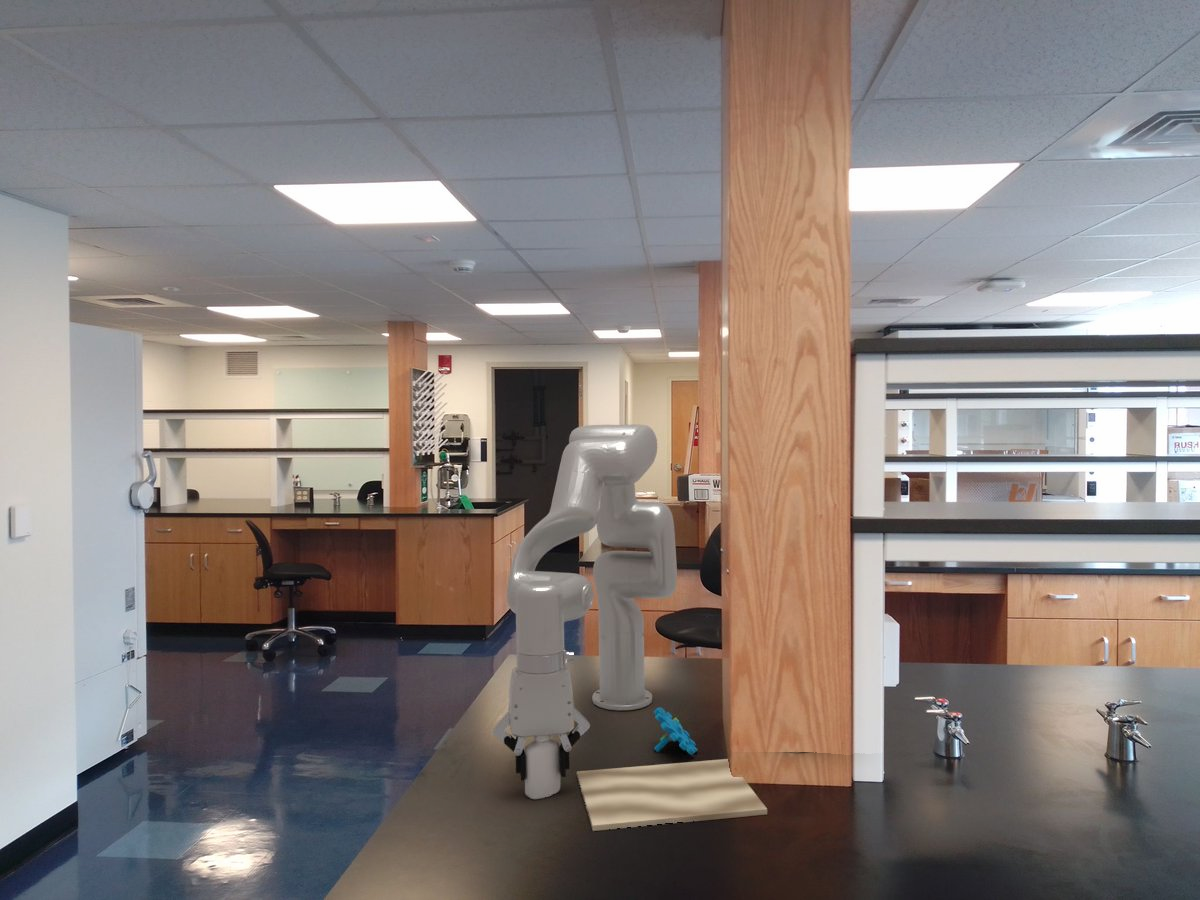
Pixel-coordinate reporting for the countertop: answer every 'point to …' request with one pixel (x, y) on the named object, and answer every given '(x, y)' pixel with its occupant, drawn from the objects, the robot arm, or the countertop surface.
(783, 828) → the countertop surface
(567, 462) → the robot arm
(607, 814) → the beige flat sheet
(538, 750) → the eye dropper bottle
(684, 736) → the gear
